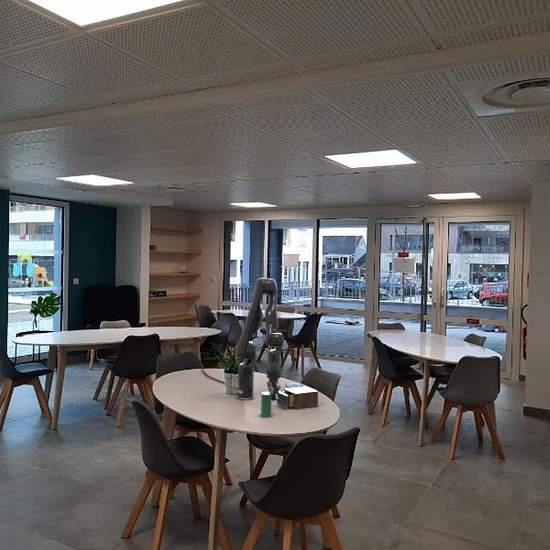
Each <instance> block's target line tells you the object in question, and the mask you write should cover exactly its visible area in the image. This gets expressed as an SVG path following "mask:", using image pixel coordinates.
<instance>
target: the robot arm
mask: <svg viewBox="0 0 550 550" xmlns="http://www.w3.org/2000/svg"><path fill="white" fill-rule="evenodd" d="M277 293H278V291H277V283H276V281H275V280H274V279H272V278H264V277H261V278H258V279H257V280H256V282H255V286H254V289H253V294H252V299H251V302H250V306H249V310H248V313H247V315H246V319H245V323H244V325H243V328H242V332H241V335H240V337H239V340H238V342H237V344H236V347H235V355H236V357H237V358H238V359H240V360H241V359H243V360H242V362H240V363H239V364H238V366H237V369H238V370H237V387H238V389H237V399H238V400H243V401H247V400H248V401H249V400H253V399H254V383H255V381H254V378H255V377H254V376H255V375H254V373H255V366H256V353H257V349H256V345H255V343H253V342H251V339H252V338H253V337H254V335H256V333H257V332H258V331H259V330H260V328H261V326H262V323H263V321H264V322H265V335H264V343H265V345H266V346H267V347H274V348H273V349H271V350H268V351H267V364H266V378H267V379H268V381H267V382H266V385H267V389H268V392H269V393H271V402H272V401H273V402H276V401H277V400H276V397H277V393H278V392H280V389H281V387H282V386H281V385H279V379H281V373H282V371H281V369H282V367H281V366H282V365H281V353H282V350H283V346H284V343H285V338H284V335H283V334H282V333H281V332H275V333H273V331H275V330H277V329H279V327H280V325H279V320H278V312H277V310H278V309H277V299H278V298H277V295H278V294H277ZM263 295H268V304H267V307H266V309H265V312H264V310H263V307H262V298H263ZM201 371H202V372H203V374H204V375H205V376H206V377H208V378H209V379H212V380H214V381H217V382H219V383H222V384H225V383H224V382H225V381H223V380H219V379H217V378H214V377H213V376H211V375H209V374H207V373H206V372H205V370H204V367H201Z"/></svg>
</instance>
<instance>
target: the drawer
mask: <svg viewBox="0 0 550 550" xmlns="http://www.w3.org/2000/svg"><path fill="white" fill-rule="evenodd" d="M275 401H276V404H277V405H278V406H281V407H283V408H285V409H289V408H291V407H294V394H291V393H289V392H287V391H285V392H284V391H279V392H278V393H277V394H276V400H275Z"/></svg>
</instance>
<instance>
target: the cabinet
mask: <svg viewBox="0 0 550 550" xmlns="http://www.w3.org/2000/svg"><path fill="white" fill-rule="evenodd" d="M285 391H287V392H289V393H291V394H294V407H290V408H291V409H293V410H302V409H309V408H318V406H319V390H316V389H314V388H311V387H308V386H303V387H298V388H288V389H285V388H284V389H283V392H285Z"/></svg>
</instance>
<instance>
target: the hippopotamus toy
mask: <svg viewBox="0 0 550 550" xmlns="http://www.w3.org/2000/svg"><path fill="white" fill-rule="evenodd" d="M298 387H304V385H303V384H301V383H297V382H290V383H288V384H287V383H285V386H284V389H288V388H298Z"/></svg>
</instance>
